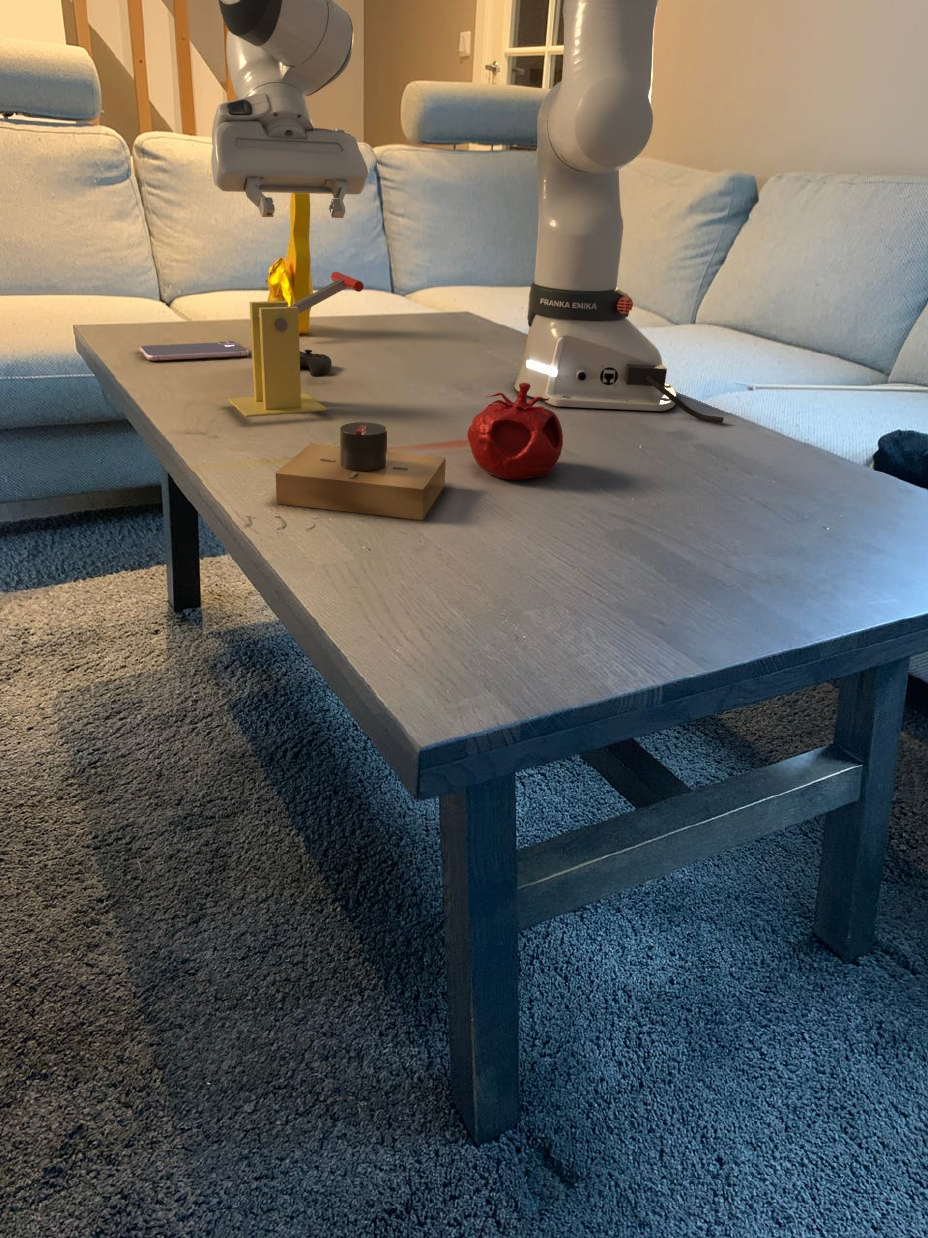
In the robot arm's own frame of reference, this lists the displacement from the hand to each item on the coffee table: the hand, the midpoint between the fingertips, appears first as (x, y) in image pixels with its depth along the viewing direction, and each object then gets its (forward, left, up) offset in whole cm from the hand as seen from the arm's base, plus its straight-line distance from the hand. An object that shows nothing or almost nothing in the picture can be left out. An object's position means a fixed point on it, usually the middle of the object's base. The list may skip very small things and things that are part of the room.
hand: (304, 214), depth 124 cm
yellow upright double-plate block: (-2, +17, -21) cm, 27 cm away
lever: (-6, +14, -10) cm, 18 cm away
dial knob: (-20, +42, -18) cm, 50 cm away
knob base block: (-20, +42, -21) cm, 51 cm away
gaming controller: (+2, -3, -22) cm, 22 cm away
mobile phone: (+21, -10, -21) cm, 32 cm away
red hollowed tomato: (-33, +30, -22) cm, 50 cm away
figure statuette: (+14, -33, -22) cm, 41 cm away
